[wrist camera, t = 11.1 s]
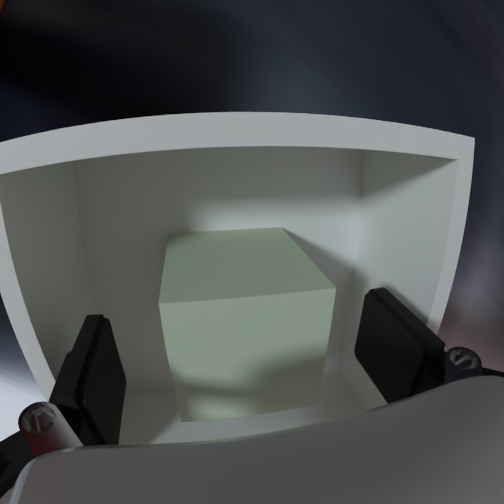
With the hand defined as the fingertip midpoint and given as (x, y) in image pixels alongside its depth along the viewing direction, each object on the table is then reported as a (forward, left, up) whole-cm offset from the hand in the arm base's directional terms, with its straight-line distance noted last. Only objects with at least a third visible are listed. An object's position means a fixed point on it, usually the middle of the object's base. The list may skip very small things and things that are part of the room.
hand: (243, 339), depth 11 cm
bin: (0, 0, -5) cm, 5 cm away
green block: (0, 0, -4) cm, 5 cm away
